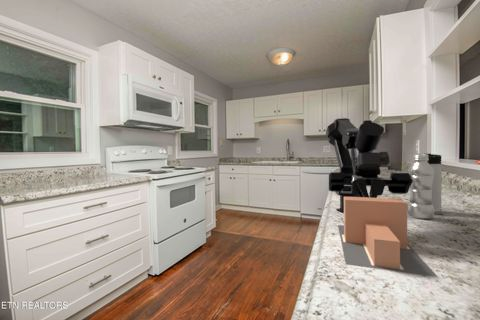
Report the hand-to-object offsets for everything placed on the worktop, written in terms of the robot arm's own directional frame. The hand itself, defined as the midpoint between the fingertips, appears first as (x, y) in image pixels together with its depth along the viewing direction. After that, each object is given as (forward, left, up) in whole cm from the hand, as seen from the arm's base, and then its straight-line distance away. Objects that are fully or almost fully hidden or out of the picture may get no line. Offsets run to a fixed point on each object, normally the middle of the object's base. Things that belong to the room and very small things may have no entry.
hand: (371, 210), depth 53 cm
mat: (+3, -2, -7) cm, 8 cm away
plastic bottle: (-12, +27, -7) cm, 30 cm away
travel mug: (-17, +36, -7) cm, 40 cm away
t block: (+6, -4, -7) cm, 10 cm away
